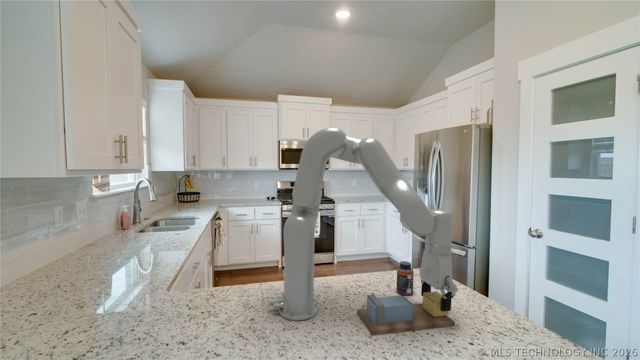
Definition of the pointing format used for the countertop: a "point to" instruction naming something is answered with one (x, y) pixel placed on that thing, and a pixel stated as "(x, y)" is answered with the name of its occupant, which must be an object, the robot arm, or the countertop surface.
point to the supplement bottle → (405, 278)
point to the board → (407, 322)
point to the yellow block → (433, 303)
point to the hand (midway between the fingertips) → (435, 302)
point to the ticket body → (389, 309)
